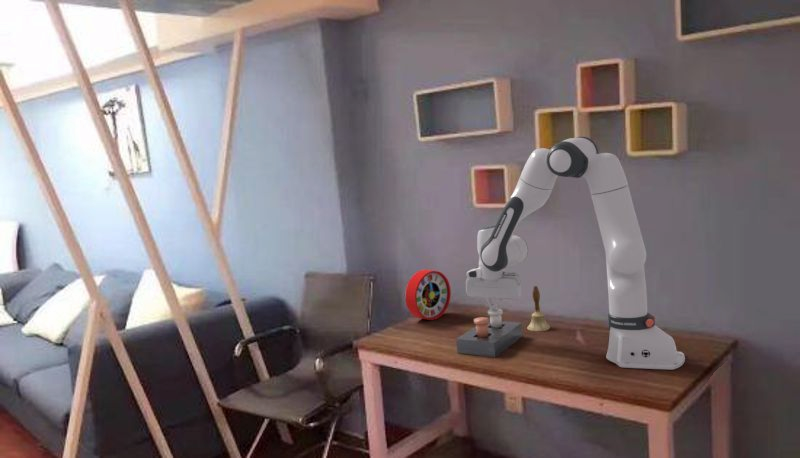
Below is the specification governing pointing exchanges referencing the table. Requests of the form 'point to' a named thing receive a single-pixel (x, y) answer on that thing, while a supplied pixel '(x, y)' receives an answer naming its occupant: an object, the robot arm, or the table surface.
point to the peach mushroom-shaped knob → (482, 326)
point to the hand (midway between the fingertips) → (494, 309)
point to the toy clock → (428, 294)
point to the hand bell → (537, 315)
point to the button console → (489, 340)
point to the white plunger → (495, 318)
